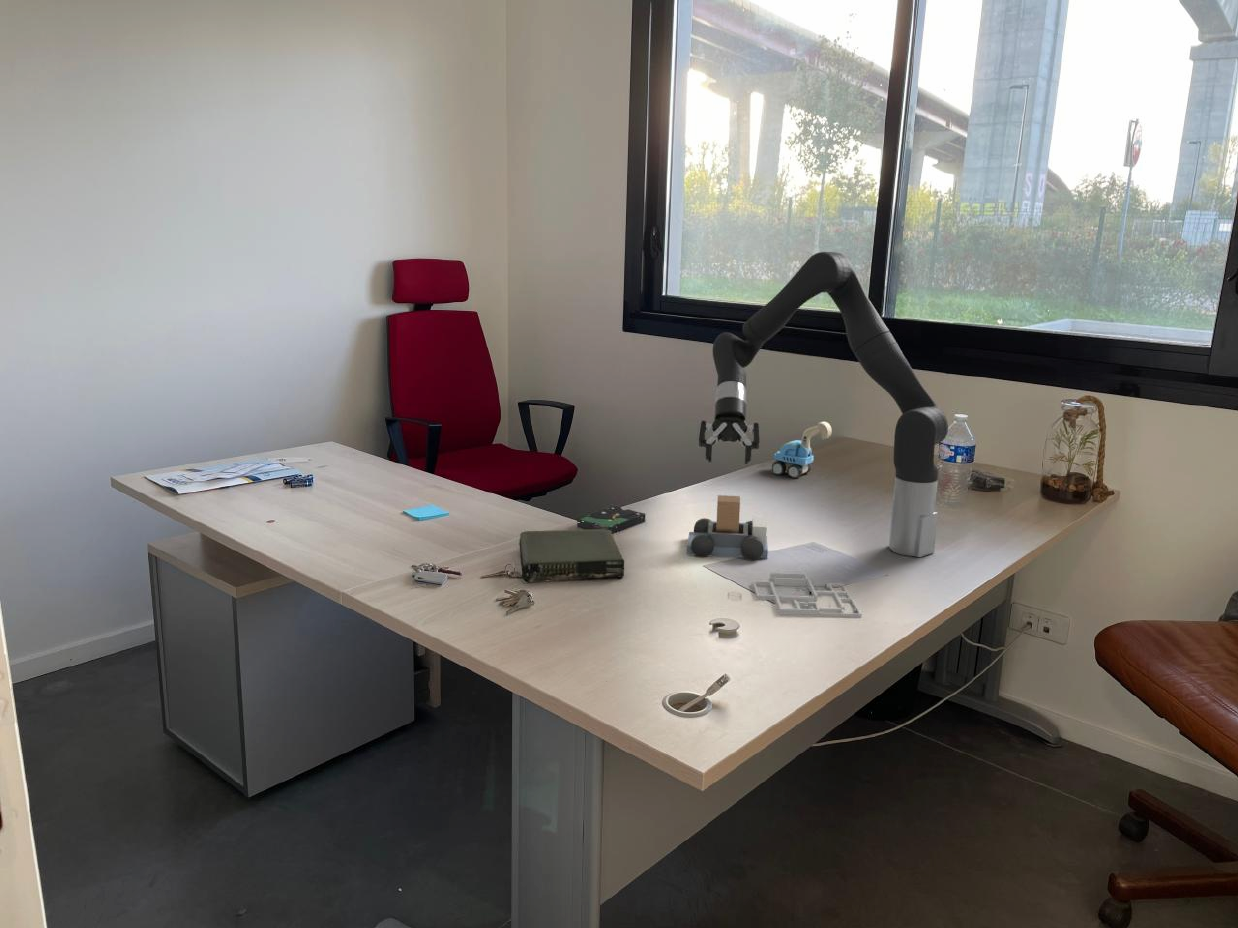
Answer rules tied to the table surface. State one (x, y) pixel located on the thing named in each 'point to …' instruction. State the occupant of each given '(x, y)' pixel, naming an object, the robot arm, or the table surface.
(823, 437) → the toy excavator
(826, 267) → the robot arm
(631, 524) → the disk drive
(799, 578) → the floor plan model
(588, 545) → the network switch
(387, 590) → the table surface
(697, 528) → the chassis
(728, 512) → the brown rectangular block
